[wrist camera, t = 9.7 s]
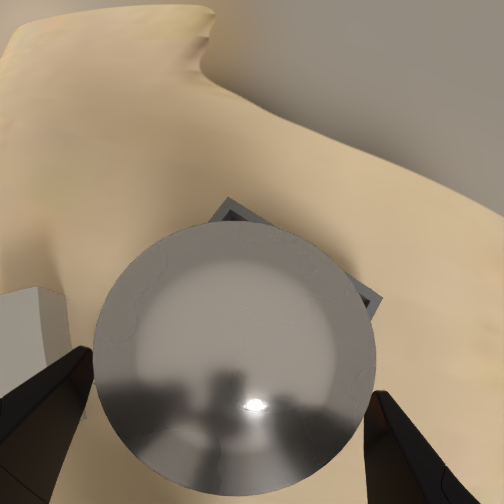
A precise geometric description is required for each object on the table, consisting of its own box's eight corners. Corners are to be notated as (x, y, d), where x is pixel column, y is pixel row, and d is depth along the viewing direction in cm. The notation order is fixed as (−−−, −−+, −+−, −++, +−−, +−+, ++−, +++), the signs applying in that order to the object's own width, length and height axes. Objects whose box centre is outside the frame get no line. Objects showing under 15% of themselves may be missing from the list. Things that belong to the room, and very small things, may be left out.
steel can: (232, 424, 18) (218, 538, 5) (163, 342, 19) (46, 332, 7) (314, 356, 19) (426, 367, 7) (245, 276, 21) (250, 169, 8)
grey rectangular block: (28, 417, 18) (-3, 425, 14) (11, 307, 20) (-20, 299, 16) (87, 417, 18) (60, 428, 15) (66, 296, 21) (37, 285, 17)
